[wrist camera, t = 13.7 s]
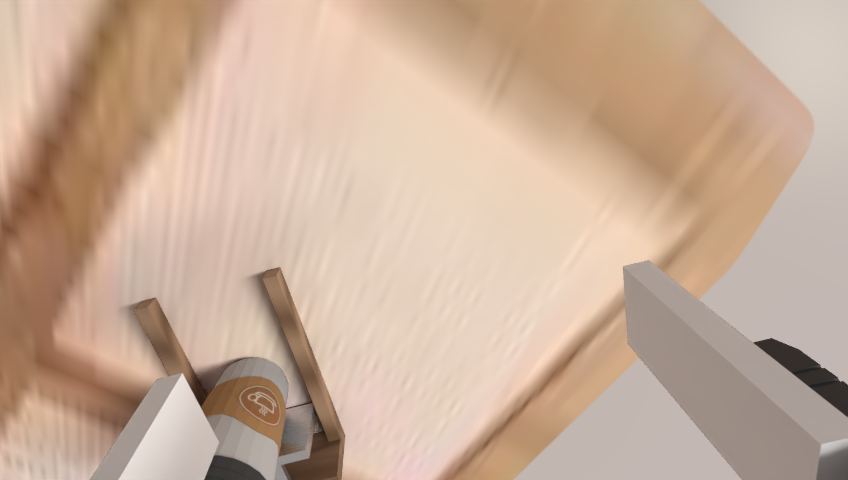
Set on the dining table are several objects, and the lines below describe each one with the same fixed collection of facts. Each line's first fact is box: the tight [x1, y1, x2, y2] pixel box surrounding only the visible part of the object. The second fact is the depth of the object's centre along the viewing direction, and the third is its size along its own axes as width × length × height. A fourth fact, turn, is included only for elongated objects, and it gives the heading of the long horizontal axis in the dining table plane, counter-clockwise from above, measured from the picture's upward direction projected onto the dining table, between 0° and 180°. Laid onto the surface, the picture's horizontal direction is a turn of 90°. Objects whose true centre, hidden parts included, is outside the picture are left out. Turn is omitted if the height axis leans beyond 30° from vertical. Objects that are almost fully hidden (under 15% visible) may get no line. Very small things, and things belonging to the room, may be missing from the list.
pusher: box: [274, 403, 317, 480], centre depth 45 cm, size 4×9×6 cm, turn 103°
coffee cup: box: [201, 357, 288, 480], centre depth 39 cm, size 8×8×15 cm
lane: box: [134, 268, 345, 480], centre depth 42 cm, size 20×12×6 cm, turn 13°
